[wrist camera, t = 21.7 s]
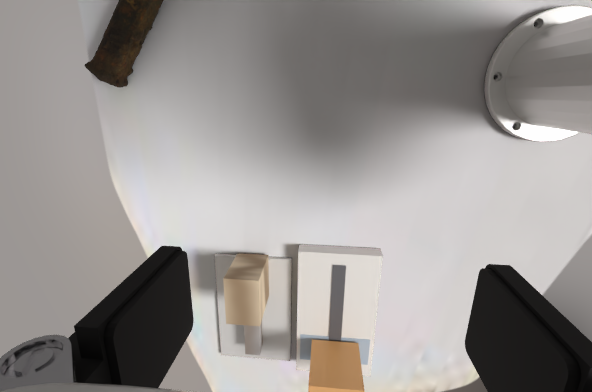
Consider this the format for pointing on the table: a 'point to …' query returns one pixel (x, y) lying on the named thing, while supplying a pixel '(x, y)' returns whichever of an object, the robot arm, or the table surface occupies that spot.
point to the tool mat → (275, 313)
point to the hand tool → (123, 40)
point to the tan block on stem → (247, 297)
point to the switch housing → (337, 299)
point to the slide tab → (335, 367)
